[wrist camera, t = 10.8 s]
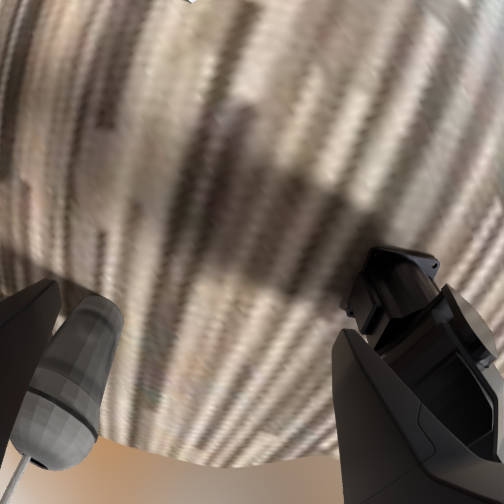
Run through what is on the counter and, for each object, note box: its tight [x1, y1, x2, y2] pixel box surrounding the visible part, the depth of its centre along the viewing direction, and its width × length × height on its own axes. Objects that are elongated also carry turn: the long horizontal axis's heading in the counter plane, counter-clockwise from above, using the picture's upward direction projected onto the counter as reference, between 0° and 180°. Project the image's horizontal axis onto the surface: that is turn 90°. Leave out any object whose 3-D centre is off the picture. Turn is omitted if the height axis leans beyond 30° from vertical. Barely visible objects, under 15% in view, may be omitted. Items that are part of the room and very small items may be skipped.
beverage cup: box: [0, 295, 124, 504], centre depth 18 cm, size 7×7×20 cm
